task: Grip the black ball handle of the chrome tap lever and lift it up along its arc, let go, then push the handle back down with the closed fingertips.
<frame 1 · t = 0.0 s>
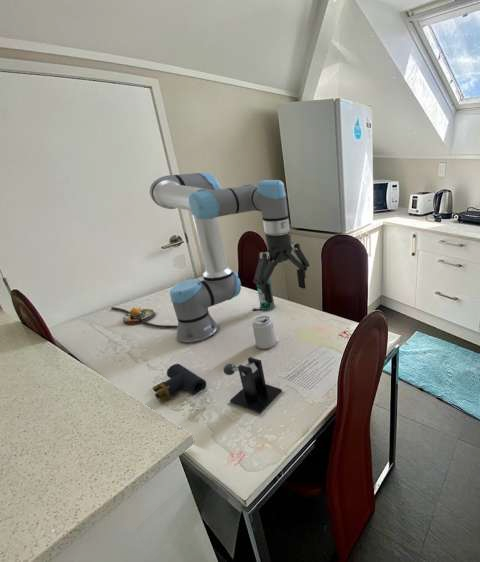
hand: (286, 294, 105), 28 cm above the table, tool pointing down, fingers open, 13 cm apart
tap lever: (239, 368, 97), point 10 cm above the table, hinge at -20.0°
can 2: (267, 308, 155), on the table
pipe connector: (178, 390, 103), on the table
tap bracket: (257, 398, 99), on the table
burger: (139, 318, 147), on the table
can: (266, 345, 126), on the table
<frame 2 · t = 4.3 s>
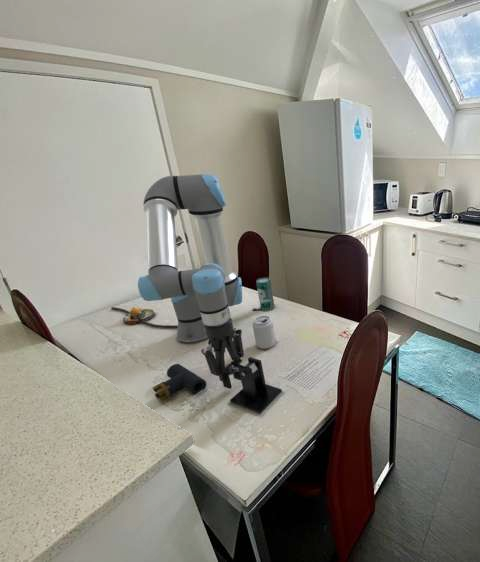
hand: (233, 382, 102), 3 cm above the table, tool pointing down, fingers closed on tap lever, 4 cm apart
tap lever: (239, 368, 97), point 10 cm above the table, hinge at -20.0°, touching gripper
everything else where it was.
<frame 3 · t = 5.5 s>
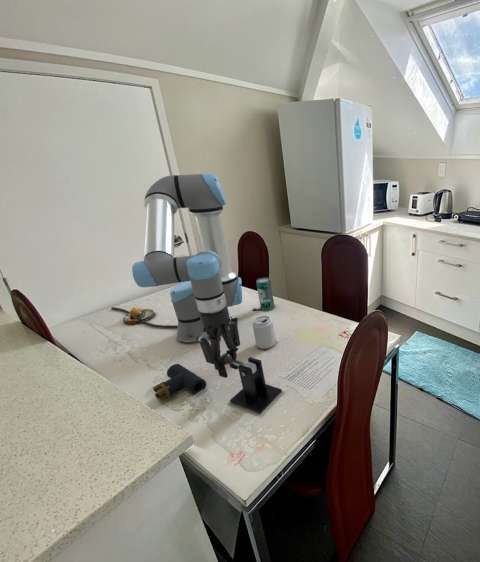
hand: (228, 371, 100), 7 cm above the table, tool pointing down, fingers closed on tap lever, 4 cm apart
tap lever: (237, 363, 96), point 12 cm above the table, hinge at 3.0°, touching gripper
everything else where it was.
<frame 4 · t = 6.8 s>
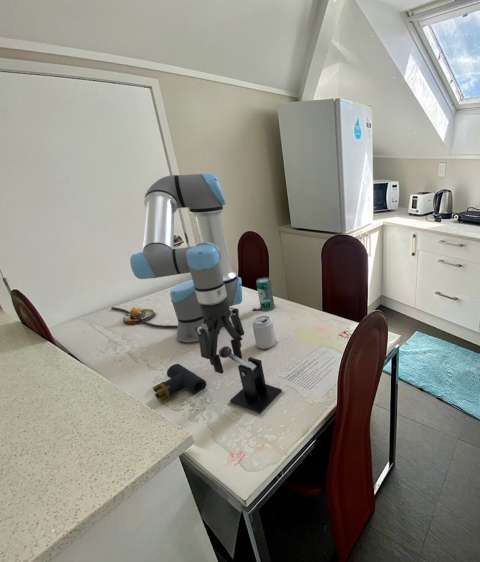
hand: (229, 364, 98), 11 cm above the table, tool pointing down, fingers open, 7 cm apart
tap lever: (237, 359, 96), point 14 cm above the table, hinge at 19.0°
everything else where it was.
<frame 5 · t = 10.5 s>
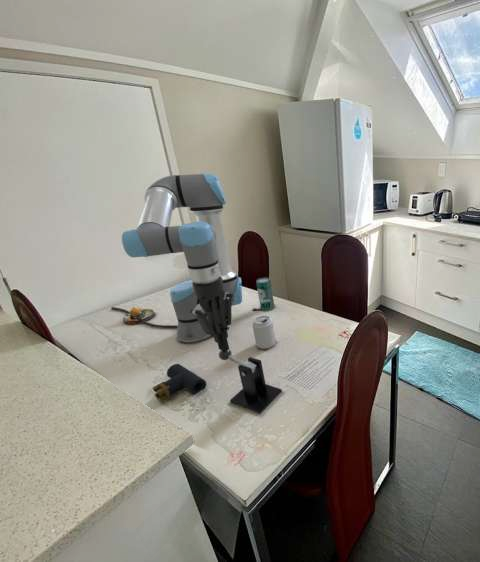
hand: (224, 349, 96), 16 cm above the table, tool pointing down, fingers closed
tap lever: (237, 360, 96), point 13 cm above the table, hinge at 13.7°, touching gripper
everything else where it was.
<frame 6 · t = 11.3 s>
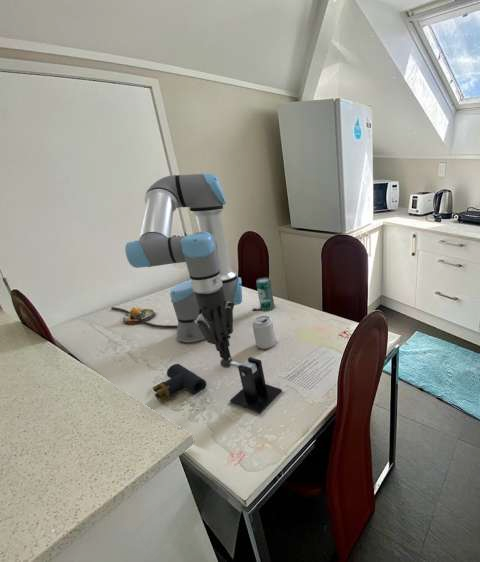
hand: (225, 357, 98), 13 cm above the table, tool pointing down, fingers closed
tap lever: (237, 364, 97), point 12 cm above the table, hinge at -4.2°, touching gripper
everything else where it was.
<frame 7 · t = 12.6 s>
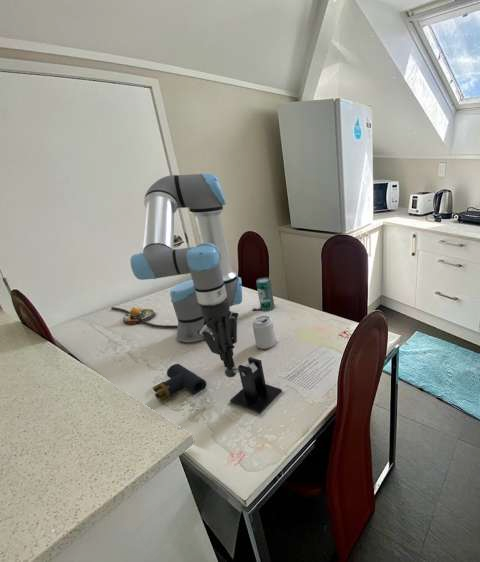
hand: (229, 366, 99), 10 cm above the table, tool pointing down, fingers closed
tap lever: (240, 370, 97), point 10 cm above the table, hinge at -25.0°
everything else where it was.
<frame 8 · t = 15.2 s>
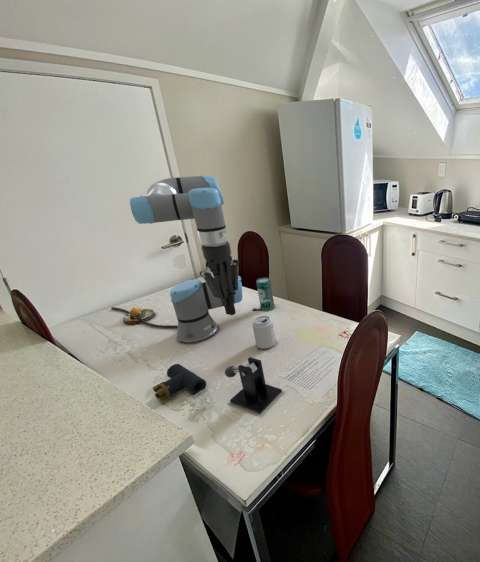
hand: (231, 313, 100), 24 cm above the table, tool pointing down, fingers closed
nothing on the table moved.
at the end: tap lever reached +21° during the clip, -25° at the end; tap lever at -25° (first picture: -20°) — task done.
